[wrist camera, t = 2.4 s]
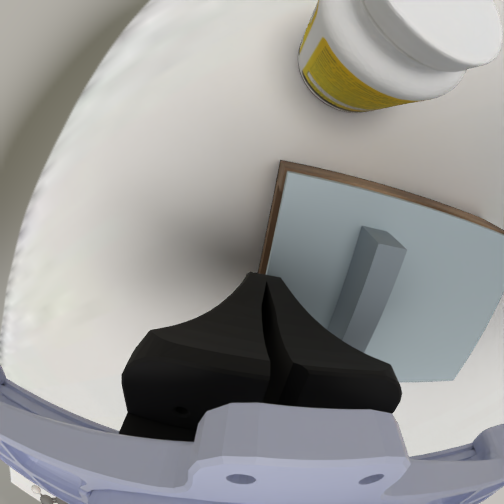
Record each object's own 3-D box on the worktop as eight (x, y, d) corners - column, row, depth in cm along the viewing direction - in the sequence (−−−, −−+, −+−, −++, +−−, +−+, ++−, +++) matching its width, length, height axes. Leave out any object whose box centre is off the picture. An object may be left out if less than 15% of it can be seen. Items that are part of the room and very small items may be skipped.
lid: (516, 239, 11) (544, 257, 9) (449, 374, 15) (464, 401, 13) (287, 170, 11) (292, 180, 9) (245, 362, 15) (242, 399, 12)
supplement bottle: (399, 115, 13) (532, 113, 4) (302, 113, 14) (361, 78, 5) (386, 27, 11) (488, -45, 2) (291, 21, 12) (317, -96, 3)
